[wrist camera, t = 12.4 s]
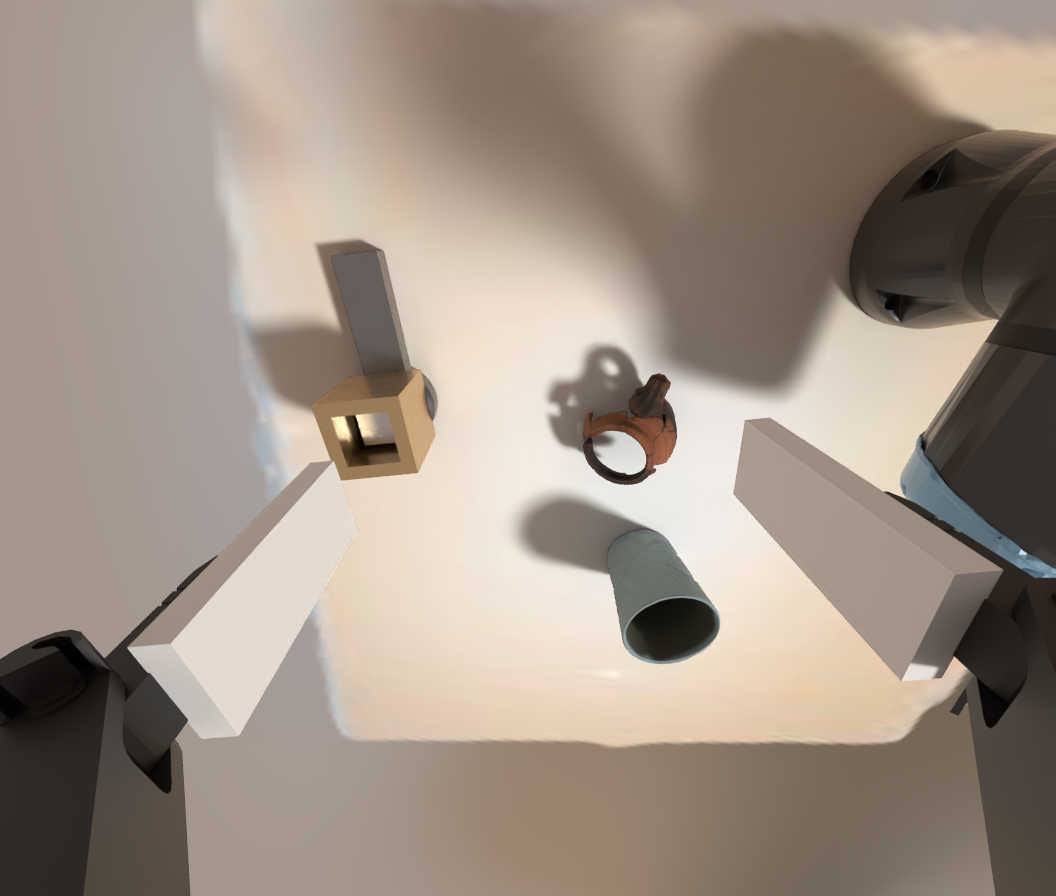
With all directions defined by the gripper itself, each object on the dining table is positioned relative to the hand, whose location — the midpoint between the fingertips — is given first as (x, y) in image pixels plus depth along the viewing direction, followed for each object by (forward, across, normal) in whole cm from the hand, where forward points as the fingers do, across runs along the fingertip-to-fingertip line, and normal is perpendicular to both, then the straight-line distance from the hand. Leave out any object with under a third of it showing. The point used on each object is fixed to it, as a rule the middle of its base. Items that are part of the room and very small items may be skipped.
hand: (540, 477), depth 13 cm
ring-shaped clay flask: (+29, +10, -10) cm, 33 cm away
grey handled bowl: (+29, -14, -1) cm, 32 cm away
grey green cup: (+29, +12, -30) cm, 43 cm away
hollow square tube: (+27, -14, -6) cm, 31 cm away
